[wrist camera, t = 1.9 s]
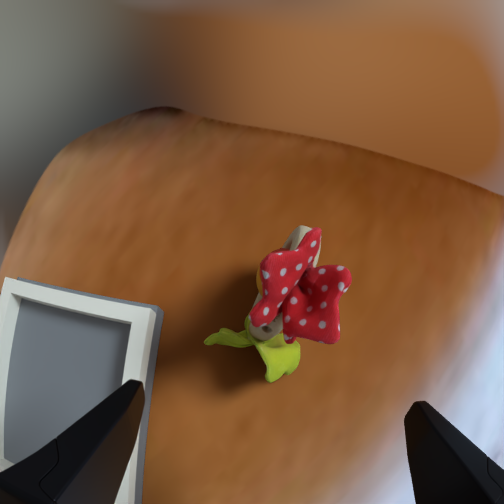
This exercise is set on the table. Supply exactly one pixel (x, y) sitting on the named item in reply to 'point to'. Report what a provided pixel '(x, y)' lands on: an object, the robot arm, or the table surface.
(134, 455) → the base plate
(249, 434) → the table surface
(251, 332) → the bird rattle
